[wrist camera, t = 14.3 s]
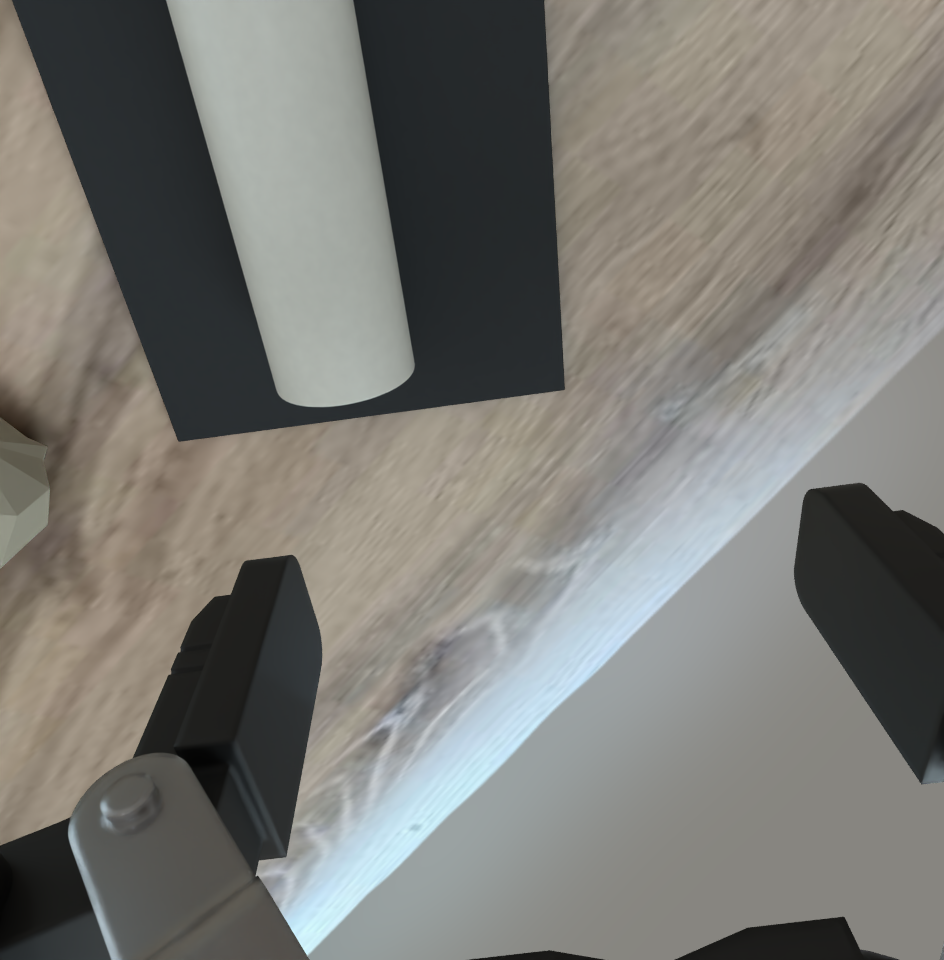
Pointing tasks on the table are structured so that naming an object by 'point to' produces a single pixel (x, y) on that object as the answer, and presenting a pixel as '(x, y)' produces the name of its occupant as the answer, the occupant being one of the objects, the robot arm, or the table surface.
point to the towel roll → (301, 190)
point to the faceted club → (21, 491)
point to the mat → (408, 184)
